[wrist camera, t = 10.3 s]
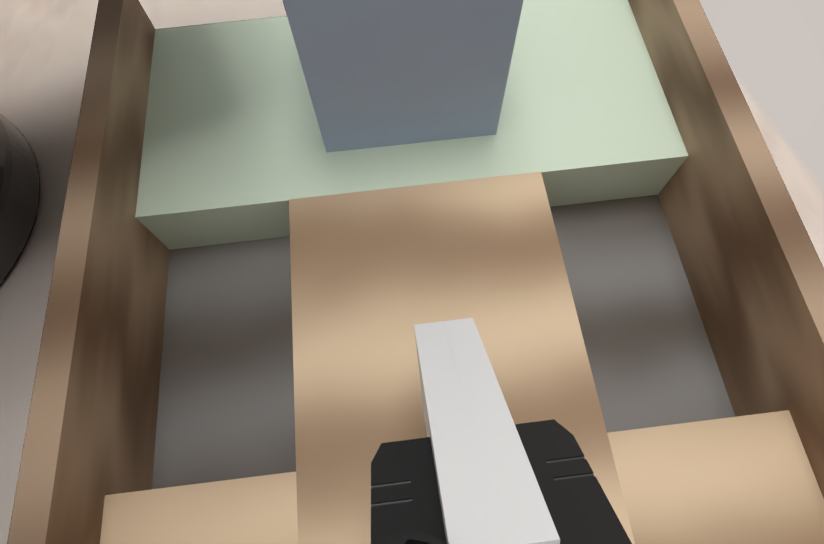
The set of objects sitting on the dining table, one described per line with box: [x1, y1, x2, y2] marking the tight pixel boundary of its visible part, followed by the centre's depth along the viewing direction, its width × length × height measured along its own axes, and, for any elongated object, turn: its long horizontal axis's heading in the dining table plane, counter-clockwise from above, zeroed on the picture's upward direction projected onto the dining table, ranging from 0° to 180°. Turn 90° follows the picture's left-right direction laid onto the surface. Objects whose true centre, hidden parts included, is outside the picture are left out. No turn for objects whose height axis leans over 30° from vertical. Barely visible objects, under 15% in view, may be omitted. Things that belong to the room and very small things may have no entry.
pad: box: [135, 0, 688, 250], centre depth 24 cm, size 10×22×3 cm, turn 97°
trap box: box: [7, 0, 824, 544], centre depth 19 cm, size 30×24×6 cm
